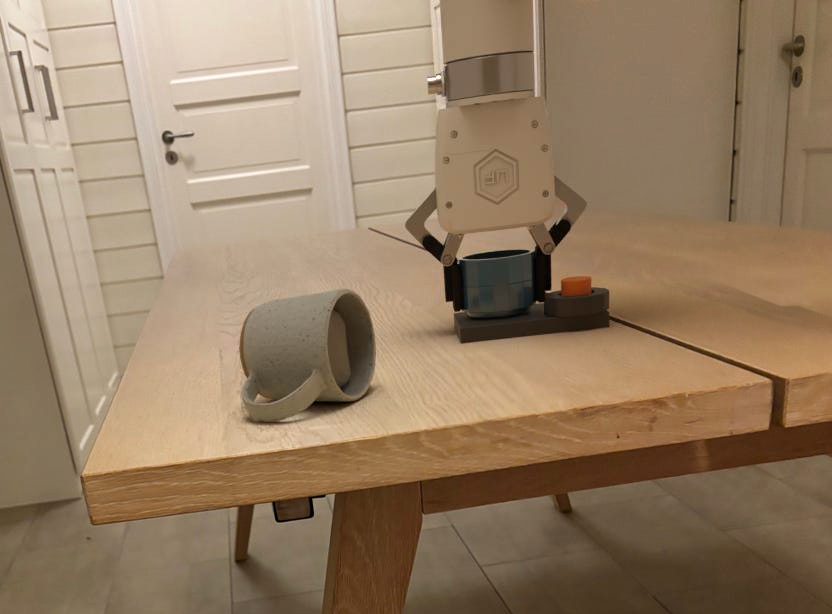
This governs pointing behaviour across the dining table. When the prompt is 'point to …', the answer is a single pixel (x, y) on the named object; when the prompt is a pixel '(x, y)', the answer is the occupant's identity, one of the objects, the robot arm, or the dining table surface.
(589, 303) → the dark piece
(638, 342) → the dining table surface
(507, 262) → the bowl
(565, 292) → the button
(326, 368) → the ceramic mug
